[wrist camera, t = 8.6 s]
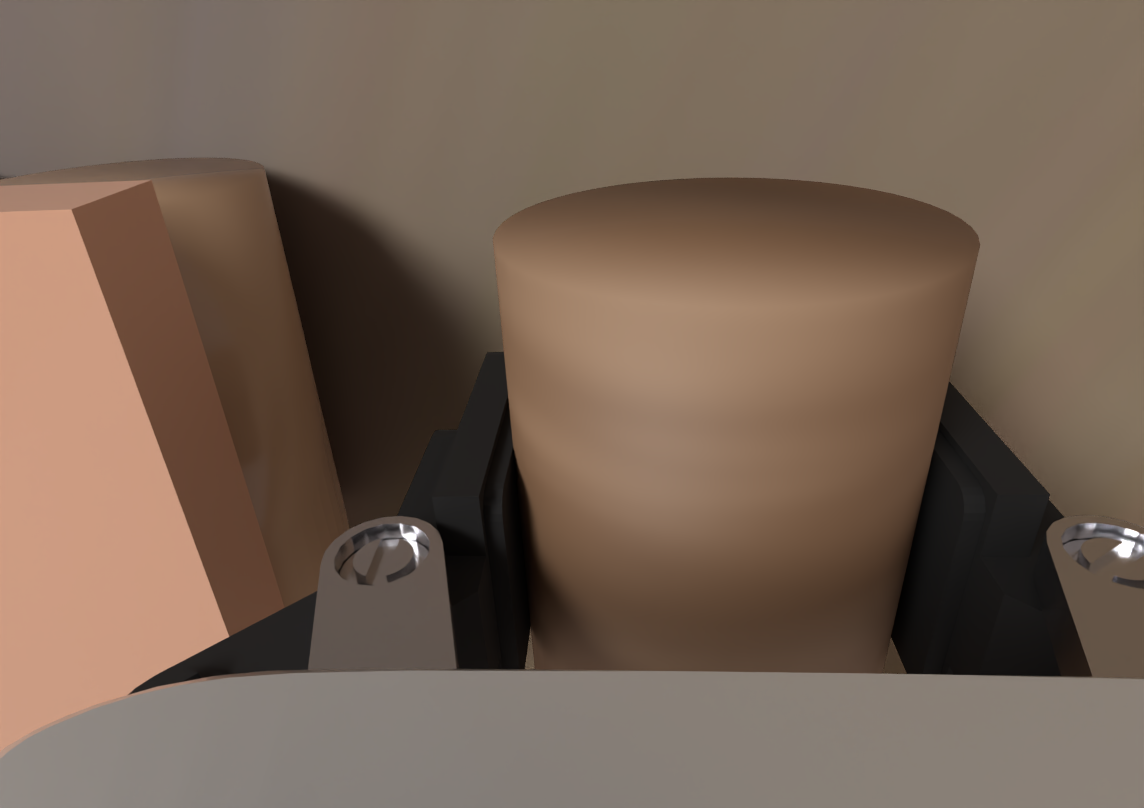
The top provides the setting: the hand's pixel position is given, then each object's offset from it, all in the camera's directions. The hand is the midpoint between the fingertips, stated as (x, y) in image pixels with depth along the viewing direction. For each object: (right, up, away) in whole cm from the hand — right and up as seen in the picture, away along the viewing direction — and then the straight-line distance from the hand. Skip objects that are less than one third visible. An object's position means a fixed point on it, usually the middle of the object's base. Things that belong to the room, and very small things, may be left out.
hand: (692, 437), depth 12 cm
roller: (0, 0, 0) cm, 1 cm away
